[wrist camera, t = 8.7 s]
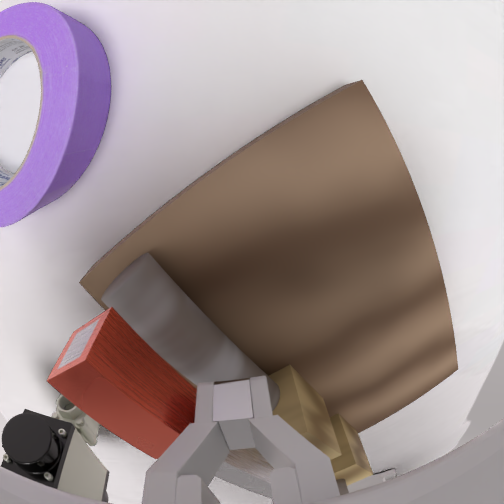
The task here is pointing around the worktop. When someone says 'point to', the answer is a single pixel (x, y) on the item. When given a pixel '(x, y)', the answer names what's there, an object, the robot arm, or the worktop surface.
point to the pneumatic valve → (56, 450)
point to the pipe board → (296, 277)
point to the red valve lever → (140, 395)
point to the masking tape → (54, 104)
